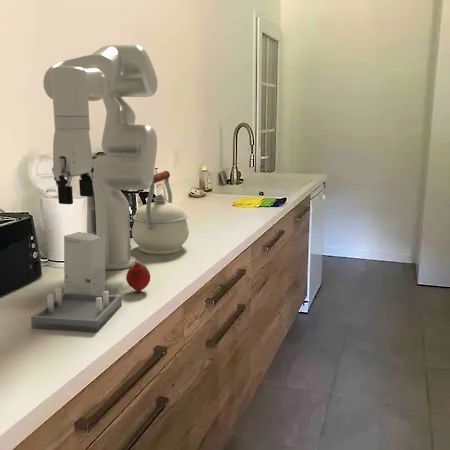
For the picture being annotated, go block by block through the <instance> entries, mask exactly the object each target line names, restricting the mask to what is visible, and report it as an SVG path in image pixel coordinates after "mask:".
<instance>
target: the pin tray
mask: <svg viewBox="0 0 450 450" xmlns="http://www.w3.org/2000/svg"><path fill="white" fill-rule="evenodd" d="M46 297H47V298H46V301H47V304H46V305H45V306H44V307H42V308H41V309H39V310H38V311H37V312H35V313H34V314H33V315H32V316H31V318H30V319H31V320H30V321H31V322H30V323H31V328H32V329H42V330H56V331H70V332H84V333H85V332H86V333H98V332H100V331H101V330H102V328H103V327H104V325H106V324H107V322H108V321H110V319H111V318H113V316H114V315H115V314H116V313H117V311H118V310H119V309H120V308H121V307H122V306H123V305H122V295H111V294H109V291H108V290H105V291H103V295H98V294H80V293H64V292H62V288H61V287H60V288H58V287H57V288H55V298H54V294H50V293H49V294H47V295H46Z"/></svg>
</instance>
